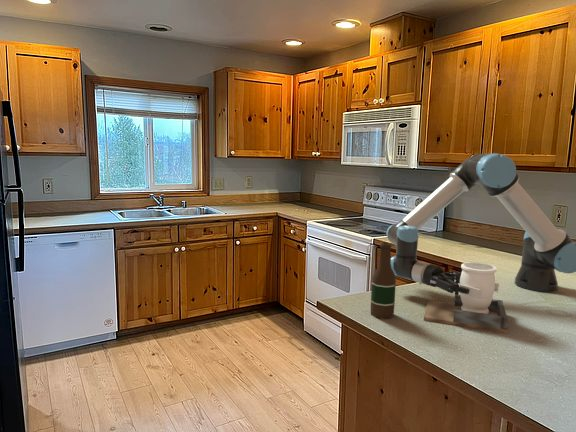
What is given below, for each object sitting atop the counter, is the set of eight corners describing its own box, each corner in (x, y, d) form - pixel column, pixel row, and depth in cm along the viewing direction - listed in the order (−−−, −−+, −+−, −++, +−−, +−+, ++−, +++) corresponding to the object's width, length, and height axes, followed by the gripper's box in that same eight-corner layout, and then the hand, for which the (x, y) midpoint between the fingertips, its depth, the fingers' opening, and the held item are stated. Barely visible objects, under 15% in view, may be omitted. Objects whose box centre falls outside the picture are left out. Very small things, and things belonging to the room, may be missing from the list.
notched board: (502, 313, 141) (503, 300, 141) (507, 333, 126) (508, 318, 125) (427, 303, 150) (428, 290, 150) (423, 320, 135) (424, 306, 134)
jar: (463, 303, 144) (466, 260, 142) (496, 310, 137) (500, 265, 135) (453, 311, 136) (456, 266, 134) (487, 319, 129) (491, 272, 127)
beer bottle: (365, 314, 139) (368, 243, 135) (378, 308, 144) (382, 240, 141) (385, 321, 133) (389, 247, 130) (398, 315, 139) (402, 243, 135)
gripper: (445, 279, 157) (505, 295, 140) (407, 290, 143) (468, 309, 126) (447, 259, 156) (507, 273, 139) (408, 268, 142) (470, 285, 125)
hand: (489, 290), depth 132 cm, fingers closed on jar, 10 cm apart
